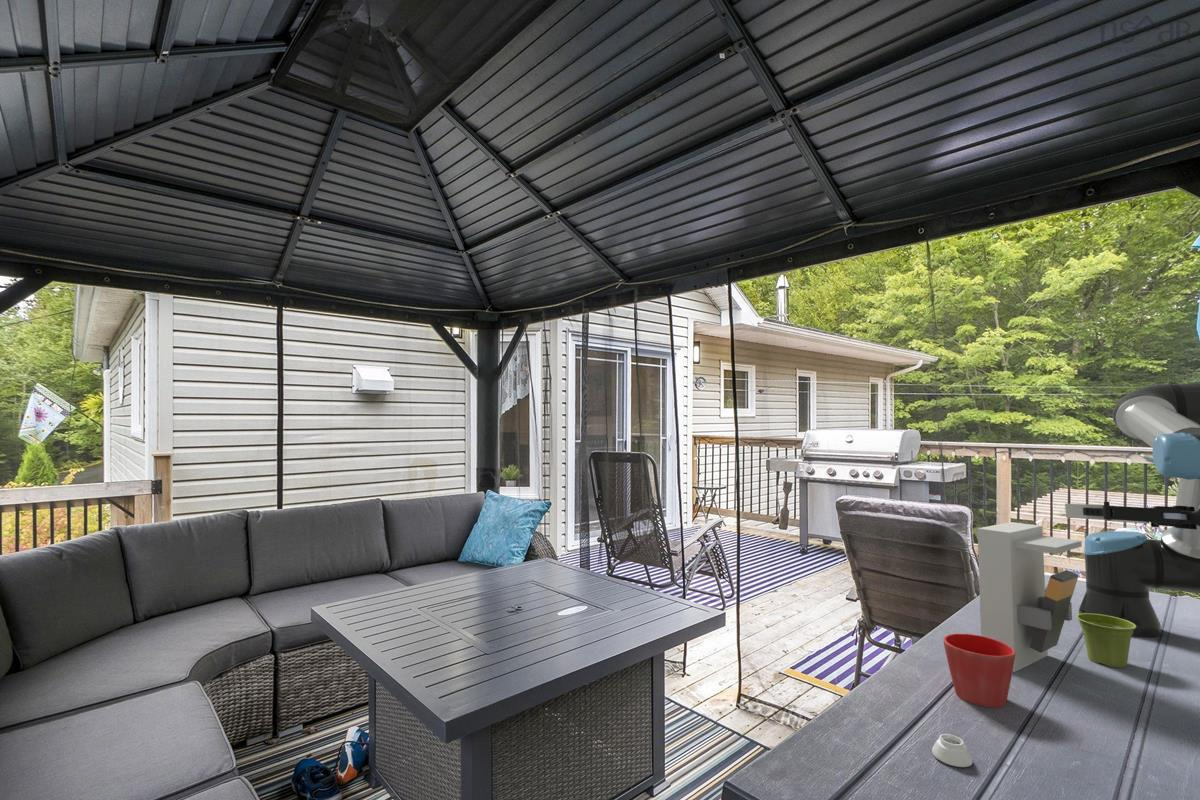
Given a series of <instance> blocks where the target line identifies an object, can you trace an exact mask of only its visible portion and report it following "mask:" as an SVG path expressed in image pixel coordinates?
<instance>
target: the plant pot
mask: <svg viewBox="0 0 1200 800" xmlns="http://www.w3.org/2000/svg"><path fill="white" fill-rule="evenodd" d="M1076 619H1077V620H1078V621H1079V625H1080V627H1081V631H1082V635H1083V638H1084V644H1085V649H1086V655H1087V658H1088V660H1090V661H1092V662H1094V663H1097V664H1102V665H1105V666H1106V667H1111V668H1125V667H1126V666H1127V665H1128V660H1129V652H1130V646H1131V639H1132V634H1133V630H1134V629H1136V625H1135V624H1134V623H1132V622H1130V621H1127V620H1124V619H1121V618H1117V617H1113V616H1107V615H1101V614H1090V613H1084V614H1079V613H1077V614H1076Z"/></svg>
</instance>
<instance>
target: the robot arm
mask: <svg viewBox="0 0 1200 800" xmlns="http://www.w3.org/2000/svg"><path fill="white" fill-rule="evenodd" d="M1112 419H1113V423H1114V424H1115V426H1116V428H1118V430H1120V431H1121V432H1122V433H1124V434H1125V435H1126V436H1127V437H1131V438H1132V439H1136V440H1139V441H1143V442H1144V443H1145V444H1147V445H1148V446H1149V447H1151V448H1152V459H1153V464H1154V467H1155V469H1156V471H1157V473H1159V474H1160V475H1161V476H1163V477H1165V478H1174V479H1177V478H1178V479H1179V480H1178V487H1177V493H1176V500H1175V505H1172V506H1167V505H1166V506H1164V505H1154V506H1152V507H1142V506H1141V507H1140V506H1138V507H1137V506H1123V505H1122V506H1121V505H1117V506H1116V505H1110V501H1103V504H1089V503H1088V504H1087V503H1085V504H1084V503H1083V504H1082V503H1064V507H1065V509H1064V511H1065V518H1067V519H1084V520H1085V519H1086V520H1101V521H1102V520H1103V521H1106V522H1118V523H1119V522H1120V523H1132V524H1133V523H1135V524H1150V527H1151V528H1160V526H1163V527H1169V528H1167V529H1165V530H1164V531H1163V532H1162V534H1161V538H1160V539H1148V537H1147V536H1146V534H1145V533H1142V532H1138V531H1125V530H1115V531H1114V530H1112V531H1097V532H1093V533H1092V532H1091V533H1090V534H1087V535H1086V537H1085V539H1084V546H1083V547H1084V548H1083V554H1084V564H1085V565H1084V566H1085V587H1086V588H1085V590H1086V591H1085V593H1084V595H1083V598H1082V600H1081V603H1080V606H1079V608H1078V614H1084V613H1090V614H1101V615H1107V616H1113V617H1117V618H1121V619H1124V620H1127V621H1130V622H1132V623H1134V624H1135V625H1136V629H1134V630H1133V634H1132V635H1131V637H1134V636H1135V637H1143V638H1144V637H1147V638H1149V637H1159V636H1161V635H1162V627H1161V626H1162V624H1161V622H1160V620H1159V617H1158V616H1157V614H1156V611H1155V609H1154V606H1153V605H1152V603H1151V600H1150V588H1151V589H1159V590H1168V591H1177V592H1186V593H1193V594H1200V383H1175V384H1174V383H1173V384H1171V383H1170V384H1169V383H1163V384H1153V385H1148V386H1143V387H1140V388H1138V389H1135V390H1133V391H1130V392H1128V393H1126V395H1124V396H1122V397H1121V398H1120V399H1119V400H1118V401H1117V402H1116V403H1115V405H1114V408H1113V411H1112Z"/></svg>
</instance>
